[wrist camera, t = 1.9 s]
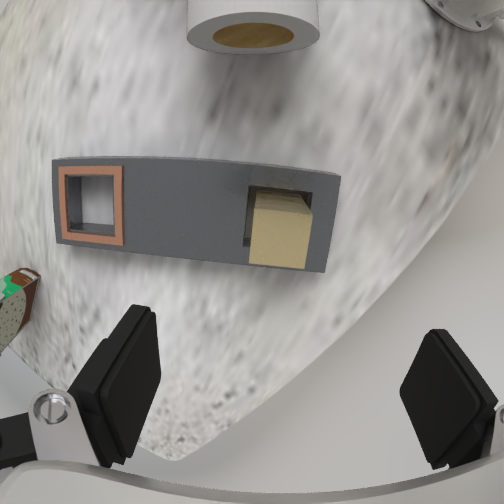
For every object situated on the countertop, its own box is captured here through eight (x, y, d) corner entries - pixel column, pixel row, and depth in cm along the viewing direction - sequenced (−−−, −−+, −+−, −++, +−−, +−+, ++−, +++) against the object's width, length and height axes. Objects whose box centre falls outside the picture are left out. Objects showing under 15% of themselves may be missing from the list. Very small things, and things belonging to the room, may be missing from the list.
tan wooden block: (299, 194, 28) (312, 214, 20) (294, 235, 29) (304, 268, 22) (257, 189, 28) (254, 208, 20) (252, 230, 29) (248, 263, 22)
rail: (334, 173, 27) (341, 176, 24) (319, 262, 30) (324, 274, 27) (65, 157, 27) (50, 160, 24) (68, 236, 30) (55, 244, 27)
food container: (13, 241, 31) (-37, 270, 21) (42, 267, 32) (-6, 303, 22) (3, 302, 35) (-35, 335, 25) (29, 326, 36) (-7, 363, 26)
